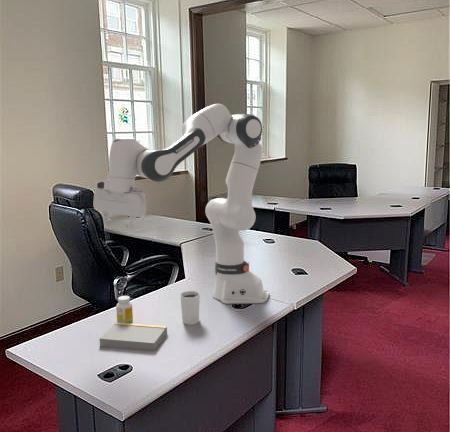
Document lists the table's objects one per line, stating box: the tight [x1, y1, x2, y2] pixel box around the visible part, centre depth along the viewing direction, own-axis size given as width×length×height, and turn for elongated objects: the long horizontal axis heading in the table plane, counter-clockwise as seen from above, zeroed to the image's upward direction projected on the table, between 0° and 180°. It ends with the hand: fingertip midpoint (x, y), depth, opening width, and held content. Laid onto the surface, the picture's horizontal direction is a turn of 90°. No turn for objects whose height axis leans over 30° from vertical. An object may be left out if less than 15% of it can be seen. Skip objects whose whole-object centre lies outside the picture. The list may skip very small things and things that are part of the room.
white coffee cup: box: [179, 290, 201, 326], centre depth 161 cm, size 7×7×10 cm
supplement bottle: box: [115, 295, 134, 324], centre depth 160 cm, size 5×5×10 cm
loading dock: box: [99, 321, 168, 352], centre depth 148 cm, size 18×12×3 cm, turn 78°
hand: (118, 226), depth 156 cm, fingers open, 8 cm apart
